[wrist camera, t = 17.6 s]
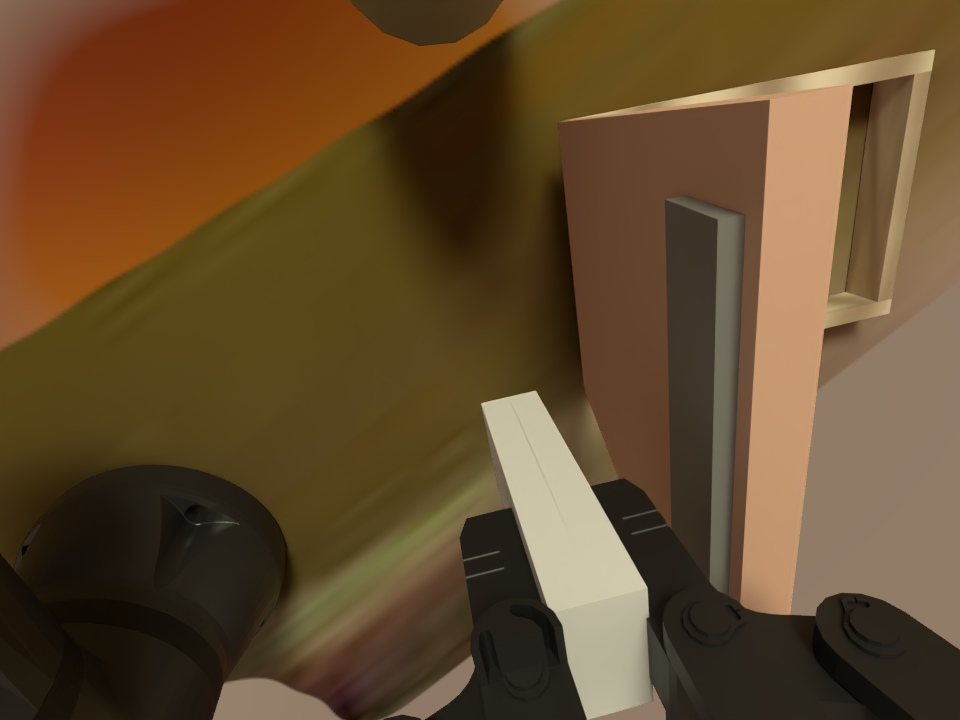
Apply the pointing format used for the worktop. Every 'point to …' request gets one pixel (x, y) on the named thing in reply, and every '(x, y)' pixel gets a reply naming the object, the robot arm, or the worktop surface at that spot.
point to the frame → (863, 168)
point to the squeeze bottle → (428, 18)
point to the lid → (710, 313)
